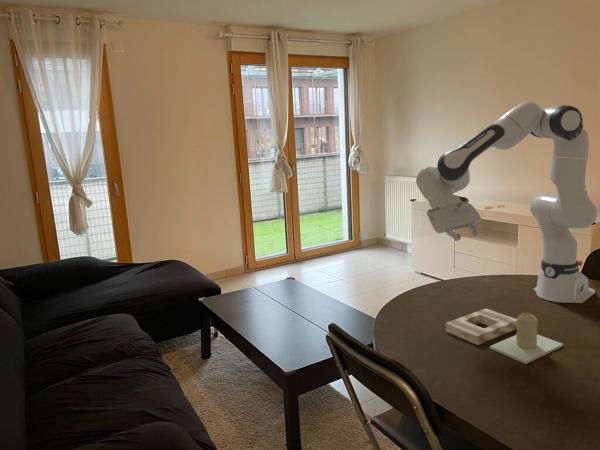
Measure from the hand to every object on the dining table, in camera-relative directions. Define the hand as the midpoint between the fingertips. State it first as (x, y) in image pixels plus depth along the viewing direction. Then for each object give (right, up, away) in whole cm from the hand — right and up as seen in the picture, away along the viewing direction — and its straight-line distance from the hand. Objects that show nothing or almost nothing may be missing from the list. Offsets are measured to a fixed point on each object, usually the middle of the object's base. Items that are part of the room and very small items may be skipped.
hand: (468, 237), depth 159 cm
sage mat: (+11, -33, -18) cm, 39 cm away
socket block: (+3, -31, -4) cm, 31 cm away
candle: (+11, -32, -18) cm, 38 cm away
